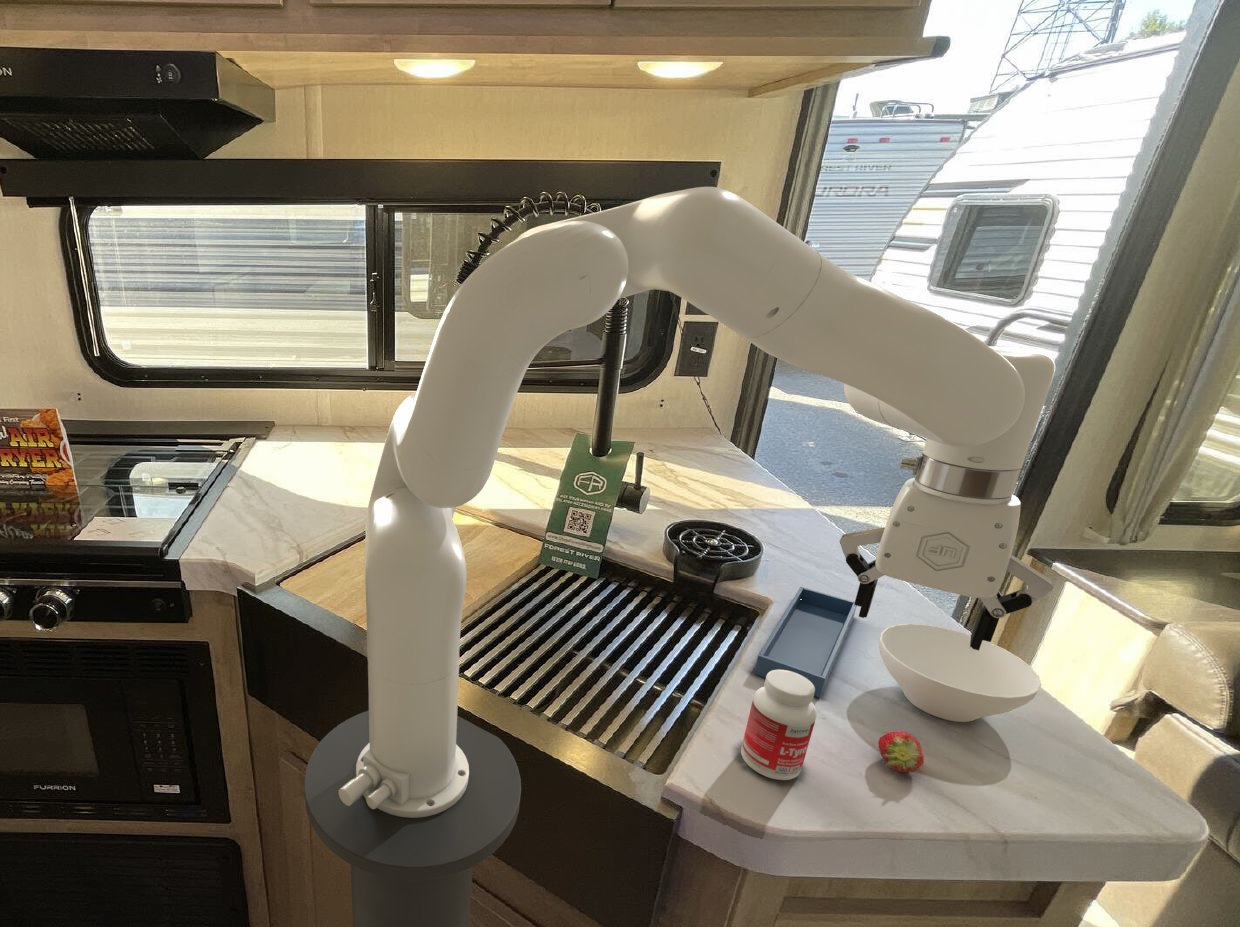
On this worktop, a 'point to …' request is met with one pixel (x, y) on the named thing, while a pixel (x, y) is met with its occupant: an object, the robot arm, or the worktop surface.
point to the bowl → (955, 672)
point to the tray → (808, 637)
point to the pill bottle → (780, 725)
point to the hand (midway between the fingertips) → (916, 627)
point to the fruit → (901, 751)
